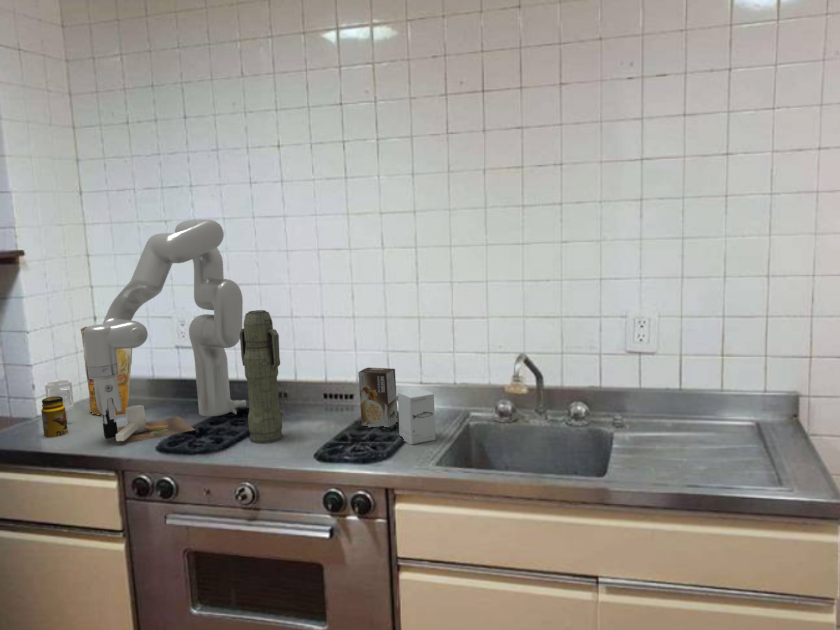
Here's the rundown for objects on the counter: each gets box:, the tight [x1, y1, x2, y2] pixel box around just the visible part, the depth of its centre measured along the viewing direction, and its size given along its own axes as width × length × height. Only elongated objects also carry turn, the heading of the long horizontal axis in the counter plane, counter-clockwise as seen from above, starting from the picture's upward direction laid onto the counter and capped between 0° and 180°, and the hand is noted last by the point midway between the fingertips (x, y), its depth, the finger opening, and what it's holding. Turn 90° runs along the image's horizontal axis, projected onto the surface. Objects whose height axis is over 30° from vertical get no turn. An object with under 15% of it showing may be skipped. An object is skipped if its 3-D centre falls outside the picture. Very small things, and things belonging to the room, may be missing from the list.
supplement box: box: [397, 388, 436, 446], centre depth 187 cm, size 7×7×13 cm
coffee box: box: [357, 367, 399, 428], centre depth 201 cm, size 9×6×16 cm
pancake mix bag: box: [80, 326, 133, 416], centre depth 226 cm, size 7×19×28 cm, turn 69°
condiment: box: [40, 396, 69, 438], centre depth 201 cm, size 7×8×12 cm
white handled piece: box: [115, 404, 166, 442], centre depth 196 cm, size 16×11×7 cm
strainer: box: [44, 378, 75, 425], centre depth 212 cm, size 7×7×15 cm
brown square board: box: [113, 416, 196, 445], centre depth 202 cm, size 20×18×2 cm
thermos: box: [239, 309, 283, 444], centre depth 192 cm, size 9×12×35 cm
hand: (111, 436), depth 192 cm, fingers closed
